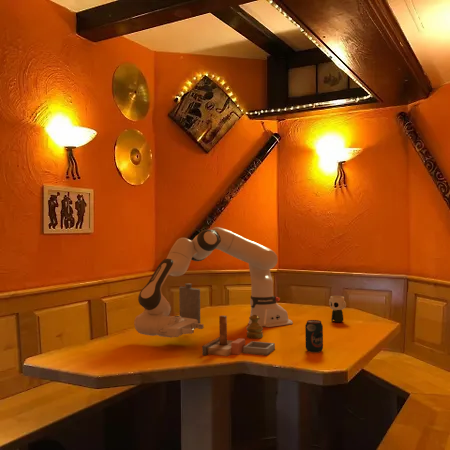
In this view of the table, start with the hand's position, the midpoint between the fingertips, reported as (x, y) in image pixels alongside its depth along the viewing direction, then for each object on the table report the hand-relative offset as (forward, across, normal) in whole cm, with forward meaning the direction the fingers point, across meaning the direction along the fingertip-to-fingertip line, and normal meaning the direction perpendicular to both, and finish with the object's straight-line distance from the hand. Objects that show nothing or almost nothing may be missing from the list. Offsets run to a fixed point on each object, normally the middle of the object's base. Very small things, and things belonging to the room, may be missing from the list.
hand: (198, 328), depth 210 cm
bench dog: (+18, 0, +8) cm, 20 cm away
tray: (+26, +4, +8) cm, 27 cm away
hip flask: (-29, +49, +8) cm, 57 cm away
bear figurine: (+44, +73, +8) cm, 86 cm away
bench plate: (+11, 0, +8) cm, 14 cm away
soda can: (+46, +12, +8) cm, 48 cm away
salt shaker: (+15, +27, +8) cm, 32 cm away
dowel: (+11, 0, +8) cm, 14 cm away
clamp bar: (+7, 0, +8) cm, 11 cm away
